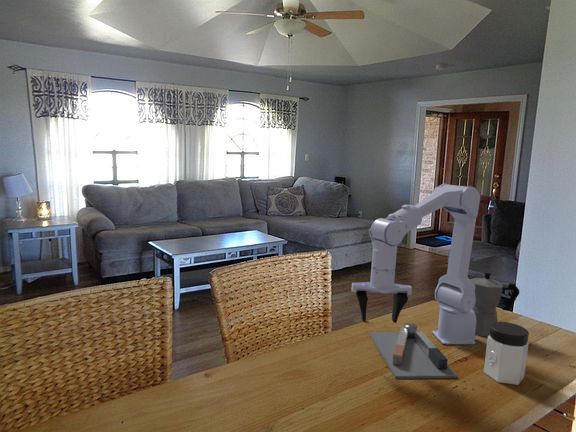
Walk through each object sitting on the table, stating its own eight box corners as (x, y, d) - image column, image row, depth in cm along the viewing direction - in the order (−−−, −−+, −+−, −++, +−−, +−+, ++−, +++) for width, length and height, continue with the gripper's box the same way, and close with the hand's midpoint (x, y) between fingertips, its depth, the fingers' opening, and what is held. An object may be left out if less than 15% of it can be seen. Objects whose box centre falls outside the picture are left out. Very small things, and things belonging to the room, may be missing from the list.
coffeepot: (457, 332, 127) (464, 273, 124) (457, 321, 136) (463, 265, 133) (516, 342, 122) (524, 281, 119) (511, 329, 131) (518, 272, 128)
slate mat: (368, 334, 124) (368, 332, 124) (419, 334, 125) (419, 332, 125) (395, 378, 100) (395, 376, 100) (457, 377, 102) (457, 375, 102)
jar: (476, 368, 107) (481, 322, 105) (502, 364, 109) (508, 319, 107) (504, 387, 98) (510, 338, 96) (532, 383, 101) (538, 334, 99)
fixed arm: (414, 339, 119) (414, 331, 119) (421, 339, 120) (422, 331, 119) (438, 369, 104) (439, 359, 103) (446, 369, 104) (447, 359, 103)
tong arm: (401, 331, 124) (402, 321, 124) (416, 334, 123) (417, 324, 122) (392, 363, 106) (393, 352, 105) (410, 367, 104) (411, 355, 104)
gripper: (356, 271, 102) (352, 325, 104) (417, 273, 102) (412, 328, 104) (351, 263, 109) (348, 314, 111) (409, 265, 109) (404, 317, 111)
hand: (378, 320), depth 108 cm, fingers open, 7 cm apart
